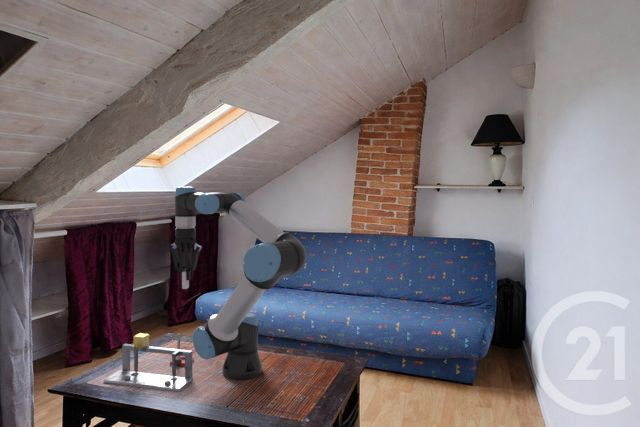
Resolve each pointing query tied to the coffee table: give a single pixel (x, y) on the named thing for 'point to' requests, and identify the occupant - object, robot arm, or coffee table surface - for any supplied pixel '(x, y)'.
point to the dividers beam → (173, 352)
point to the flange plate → (148, 380)
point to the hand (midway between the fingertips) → (185, 288)
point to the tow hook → (179, 358)
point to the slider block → (139, 342)
